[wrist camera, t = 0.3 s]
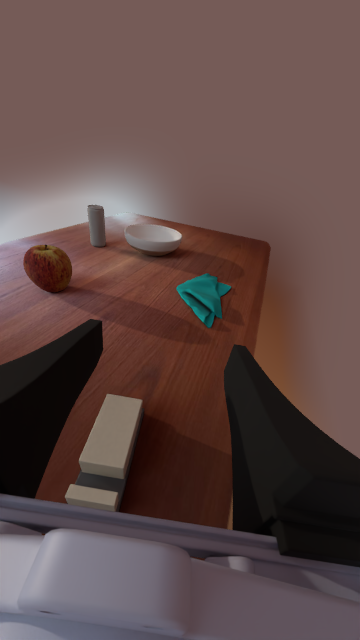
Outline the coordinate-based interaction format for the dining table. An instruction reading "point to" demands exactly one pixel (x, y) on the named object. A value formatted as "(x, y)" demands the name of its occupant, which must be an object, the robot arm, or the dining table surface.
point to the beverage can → (97, 225)
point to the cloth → (204, 297)
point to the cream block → (108, 455)
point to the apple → (48, 267)
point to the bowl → (152, 239)
